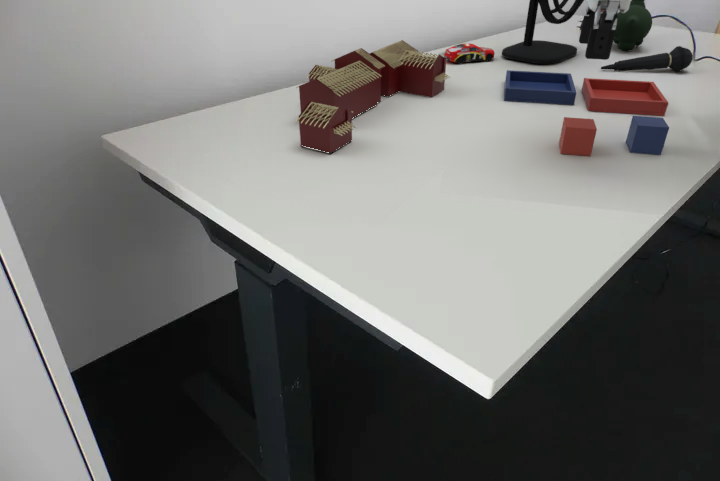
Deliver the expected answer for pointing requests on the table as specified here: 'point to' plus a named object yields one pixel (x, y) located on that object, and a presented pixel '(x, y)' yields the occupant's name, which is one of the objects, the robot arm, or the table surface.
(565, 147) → the red block
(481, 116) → the table surface
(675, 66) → the microphone
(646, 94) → the red tray
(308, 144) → the toy houses
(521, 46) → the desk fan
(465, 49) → the race car
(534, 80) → the navy tray
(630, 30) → the toy figurine
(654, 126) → the navy block
